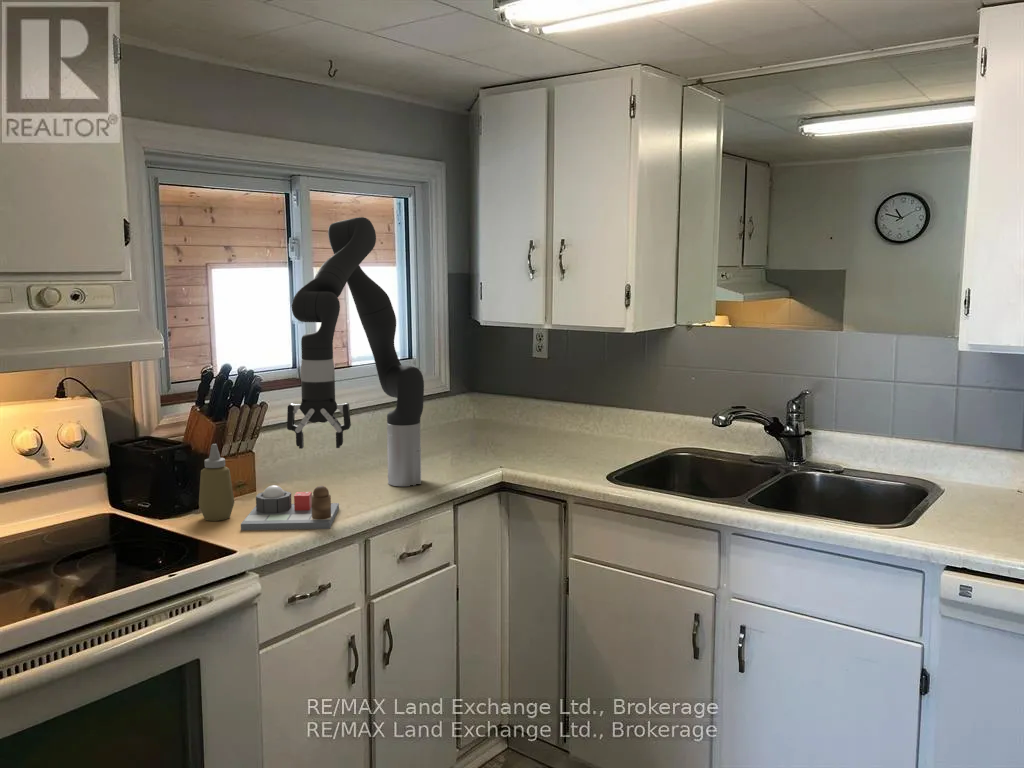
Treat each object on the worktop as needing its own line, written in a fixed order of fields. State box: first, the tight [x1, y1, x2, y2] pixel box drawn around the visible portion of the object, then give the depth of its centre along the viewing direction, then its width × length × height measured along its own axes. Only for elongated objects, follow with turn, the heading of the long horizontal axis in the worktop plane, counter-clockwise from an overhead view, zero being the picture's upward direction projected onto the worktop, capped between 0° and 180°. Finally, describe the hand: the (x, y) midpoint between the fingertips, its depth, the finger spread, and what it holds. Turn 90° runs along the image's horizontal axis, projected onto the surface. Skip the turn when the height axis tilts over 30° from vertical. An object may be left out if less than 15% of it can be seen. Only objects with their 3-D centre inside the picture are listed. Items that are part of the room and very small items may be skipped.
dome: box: [263, 484, 285, 498], centre depth 197 cm, size 5×5×5 cm
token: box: [311, 485, 332, 519], centre depth 190 cm, size 4×4×7 cm
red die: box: [293, 491, 313, 510], centre depth 197 cm, size 4×4×4 cm
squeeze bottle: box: [198, 443, 235, 522], centre depth 193 cm, size 8×8×18 cm
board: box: [240, 490, 340, 531], centre depth 193 cm, size 20×16×5 cm
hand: (319, 447), depth 189 cm, fingers open, 8 cm apart
